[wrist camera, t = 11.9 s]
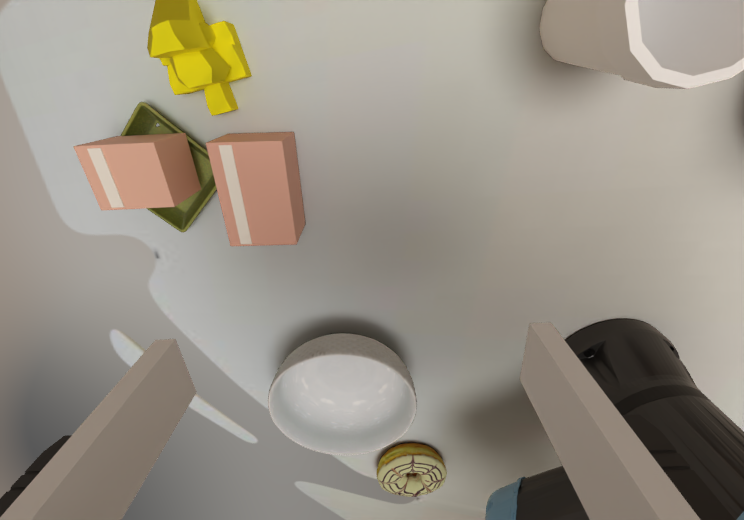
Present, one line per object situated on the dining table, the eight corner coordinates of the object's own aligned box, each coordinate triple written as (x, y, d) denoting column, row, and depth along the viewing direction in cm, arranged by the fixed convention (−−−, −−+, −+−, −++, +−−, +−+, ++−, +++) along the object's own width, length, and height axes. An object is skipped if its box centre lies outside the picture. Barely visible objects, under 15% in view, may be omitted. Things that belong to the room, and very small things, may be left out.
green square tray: (153, 97, 30) (139, 99, 29) (238, 165, 33) (230, 170, 31) (112, 170, 33) (97, 175, 31) (193, 226, 36) (183, 234, 34)
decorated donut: (409, 485, 59) (412, 510, 55) (363, 460, 55) (363, 485, 52) (456, 458, 55) (462, 482, 52) (410, 429, 51) (413, 453, 48)
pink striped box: (306, 229, 36) (297, 250, 31) (248, 230, 36) (231, 252, 31) (294, 131, 31) (281, 141, 27) (228, 133, 31) (205, 143, 27)
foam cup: (502, 68, 29) (589, 63, 18) (550, -74, 25) (706, -204, 13) (603, 94, 30) (748, 104, 19) (666, -39, 26) (903, -131, 14)
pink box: (201, 189, 32) (173, 207, 28) (138, 192, 32) (100, 210, 28) (185, 133, 30) (152, 142, 25) (117, 136, 30) (72, 146, 25)
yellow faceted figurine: (200, 119, 31) (152, 130, 24) (154, 13, 27) (82, -8, 20) (261, 102, 30) (230, 109, 23) (222, -8, 27) (172, -38, 20)
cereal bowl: (416, 315, 41) (425, 357, 35) (405, 408, 49) (410, 456, 43) (275, 311, 41) (258, 354, 35) (286, 406, 49) (274, 455, 42)
